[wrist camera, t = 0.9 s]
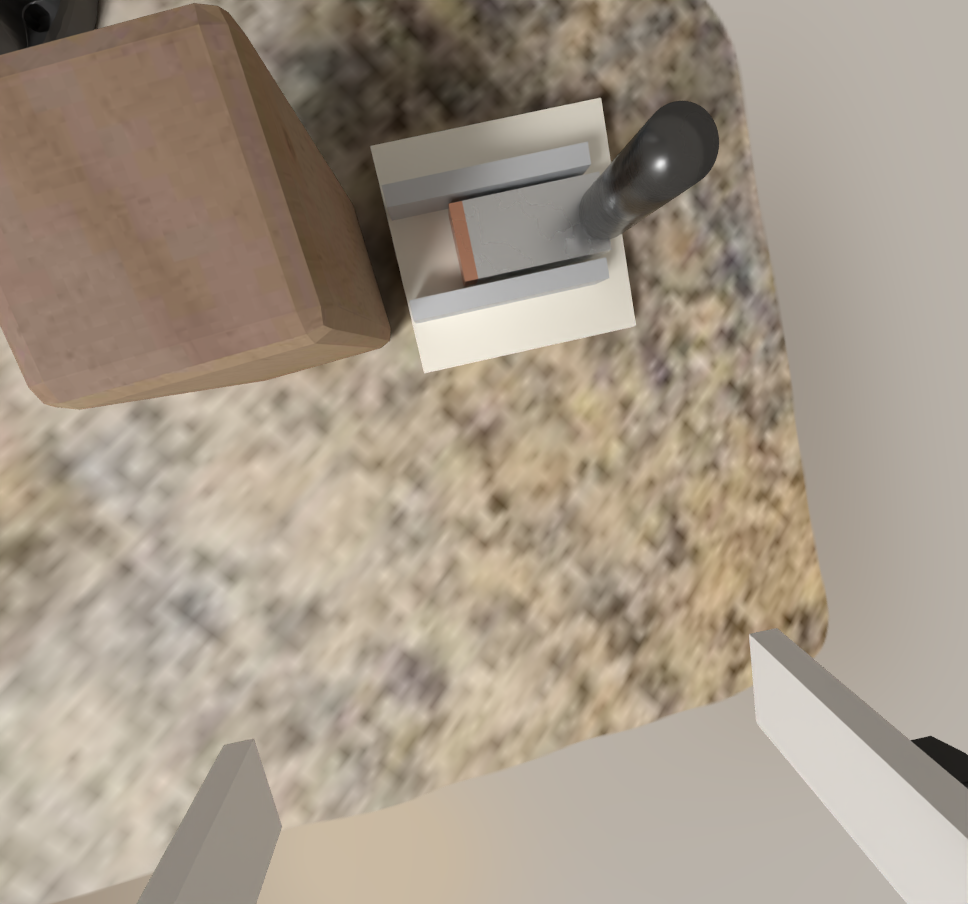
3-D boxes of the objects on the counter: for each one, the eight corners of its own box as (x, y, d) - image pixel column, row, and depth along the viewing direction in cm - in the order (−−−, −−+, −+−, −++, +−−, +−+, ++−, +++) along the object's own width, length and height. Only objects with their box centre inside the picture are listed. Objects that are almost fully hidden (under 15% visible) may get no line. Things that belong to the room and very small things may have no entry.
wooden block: (350, 193, 34) (220, -25, 14) (396, 344, 36) (337, 334, 16) (201, 234, 34) (-138, 70, 14) (256, 383, 36) (26, 422, 16)
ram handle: (448, 214, 32) (449, 131, 20) (612, 179, 33) (711, 76, 21) (463, 286, 33) (474, 248, 21) (624, 251, 34) (725, 194, 21)
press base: (374, 157, 34) (362, 124, 29) (592, 112, 34) (616, 71, 29) (425, 372, 36) (422, 375, 31) (625, 327, 37) (653, 323, 32)
